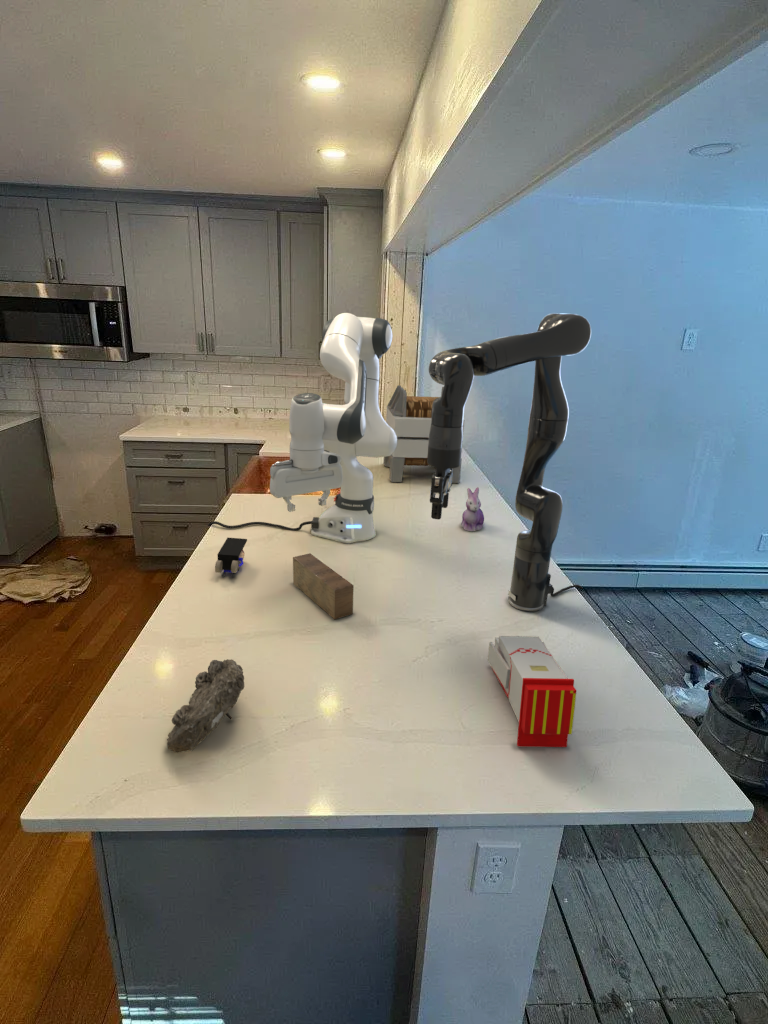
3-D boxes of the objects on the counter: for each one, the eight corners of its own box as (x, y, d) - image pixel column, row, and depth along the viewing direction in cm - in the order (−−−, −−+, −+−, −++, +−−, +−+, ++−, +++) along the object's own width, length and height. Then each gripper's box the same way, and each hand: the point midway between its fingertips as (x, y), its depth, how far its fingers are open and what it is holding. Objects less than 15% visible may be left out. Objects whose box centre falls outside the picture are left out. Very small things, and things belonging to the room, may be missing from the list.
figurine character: (238, 584, 162) (249, 557, 175) (236, 562, 158) (247, 536, 172) (215, 584, 161) (227, 556, 175) (212, 561, 158) (225, 535, 171)
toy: (536, 619, 129) (586, 686, 99) (531, 673, 131) (578, 754, 102) (483, 618, 128) (517, 685, 99) (479, 672, 131) (511, 753, 102)
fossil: (192, 660, 117) (244, 628, 112) (224, 691, 120) (276, 661, 115) (142, 746, 98) (202, 712, 93) (182, 779, 101) (242, 748, 96)
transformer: (382, 463, 289) (386, 382, 275) (445, 464, 293) (451, 384, 279) (390, 482, 257) (394, 392, 243) (460, 483, 261) (468, 394, 247)
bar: (293, 583, 161) (292, 557, 158) (310, 579, 164) (310, 553, 161) (334, 619, 144) (335, 590, 141) (352, 613, 147) (353, 585, 144)
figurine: (470, 533, 202) (474, 493, 197) (453, 524, 211) (457, 485, 206) (491, 530, 207) (495, 491, 202) (474, 520, 215) (478, 483, 210)
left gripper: (275, 465, 139) (277, 518, 143) (346, 456, 150) (345, 505, 155) (264, 459, 143) (266, 511, 148) (333, 451, 155) (333, 498, 160)
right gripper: (456, 453, 119) (450, 525, 125) (466, 440, 132) (460, 505, 138) (421, 449, 121) (417, 520, 127) (434, 436, 134) (429, 501, 140)
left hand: (307, 508), depth 152 cm, fingers open, 8 cm apart
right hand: (439, 512), depth 132 cm, fingers open, 8 cm apart
